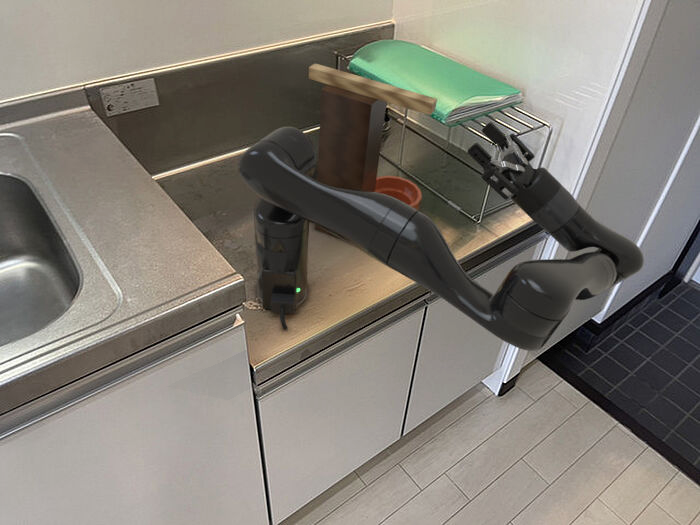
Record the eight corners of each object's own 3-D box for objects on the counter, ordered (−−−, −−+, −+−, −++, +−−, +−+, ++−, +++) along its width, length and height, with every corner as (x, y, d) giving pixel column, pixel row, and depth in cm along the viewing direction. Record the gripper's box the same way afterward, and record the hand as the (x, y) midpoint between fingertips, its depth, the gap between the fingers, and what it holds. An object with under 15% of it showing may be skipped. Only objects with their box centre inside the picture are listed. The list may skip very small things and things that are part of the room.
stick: (435, 110, 94) (437, 98, 92) (430, 115, 92) (432, 103, 91) (314, 74, 101) (315, 63, 99) (308, 78, 99) (308, 67, 98)
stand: (370, 227, 120) (388, 90, 98) (355, 245, 115) (371, 104, 94) (330, 212, 123) (339, 76, 101) (315, 229, 118) (321, 89, 97)
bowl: (418, 232, 120) (423, 211, 116) (361, 228, 120) (364, 206, 116) (415, 199, 129) (419, 178, 125) (363, 194, 129) (365, 173, 125)
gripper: (519, 233, 92) (451, 167, 91) (537, 192, 102) (476, 132, 101) (553, 209, 87) (481, 139, 86) (569, 169, 97) (504, 105, 95)
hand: (478, 135), depth 93 cm, fingers open, 8 cm apart
